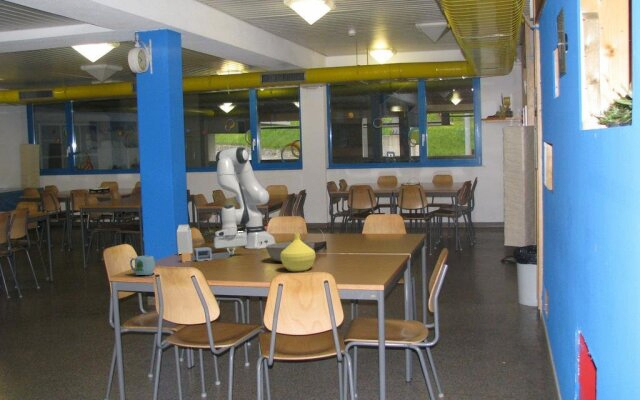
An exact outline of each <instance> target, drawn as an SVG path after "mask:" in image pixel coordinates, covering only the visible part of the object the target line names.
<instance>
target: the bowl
mask: <svg viewBox="0 0 640 400" xmlns="http://www.w3.org/2000/svg"><path fill="white" fill-rule="evenodd" d="M292 242H293V241H285V242H275V244H270V245H267V246H266V248H265V249H266V250H267V253H268V255H269V256H270V258H272V259H273V260H274V261H277V262H280V263H282V261H281V257H280V255H281V252H282V251H283V250H284V249H286V248H287V247H288V246H289V245H290V244H291V243H292ZM302 242H303V243H304V244H306V245H307V246H309V247H310V248H311V249H313V250H314V249H315V243H314V242H311V241H302ZM272 259H271V260H272Z"/></svg>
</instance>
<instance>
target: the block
mask: <svg viewBox="0 0 640 400" xmlns="http://www.w3.org/2000/svg"><path fill="white" fill-rule="evenodd" d="M191 254H192V253H190V252H189V253H182V255H181V262H182V263H183V262H184V263H186V262H185V261H191V256H192V255H191ZM191 262H192V261H191Z"/></svg>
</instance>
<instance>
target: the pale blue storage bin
mask: <svg viewBox="0 0 640 400" xmlns="http://www.w3.org/2000/svg"><path fill="white" fill-rule="evenodd" d="M212 252H213V251H212V248H211V247H209V246H206V247H205V246H204V247H197V248H195V247H194V248H193V253H194V254H193V255H196V259H197V261H198V262H205V261H204V260H208V261H212V260H213V259H212V254H213V253H212ZM203 254H210V258H206V259H198V255H203ZM197 261H196V262H197Z"/></svg>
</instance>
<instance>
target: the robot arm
mask: <svg viewBox="0 0 640 400" xmlns="http://www.w3.org/2000/svg"><path fill="white" fill-rule="evenodd" d="M249 155H250V153H249V151H248V150H247V149H246V148H245V147H242V146H240V147H230V148H228V149H227V148H226V149H224V150H223V149H222V150H219V151H218V152H216V154H215V162H216V164H217V165H216V166H217V167H216V175H217V176H216V179H217V184H218V186H219V187H220V188H221V189H223V190H225V191H228V192H230V193H234V194H235V199H236V202H237V203H238V205H239V208H236V207H235V206H234V205H233V204H225V205H222V207H221V211H220V212H219V223H220V224H221V225H222V226H221V227H222V229H220V230H217V231H215V232H214V235H215V236H214V238H213V247H214V249H224V248H225V249H226V251H227V252H229V256H230V255H234V254H235V250H236V247H244V248H245V249H250V250H251V249H255V250H258V249H266V246H267V245H270V244H275V243H276V240H275V237H274V235H272V234H271V233H270V232H268V231H267V230H268V226H265V225H263V215H262V213H261V211H260V210H259V209H258V207H257V206H263V205H266V204H267V203H268V202H269V200H270V194H269V191H268V190H266V189H265V188H263V187H262V186H261V184H260V182H259V181H258V180H257V178H256V175H255V173H254V169H253V167H252V165H251V162H250V159H249ZM236 178H237V179H236ZM238 225H241V226H244V225H245V226H244V228H245V229H244V230H238ZM230 248H232V251H230Z"/></svg>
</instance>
